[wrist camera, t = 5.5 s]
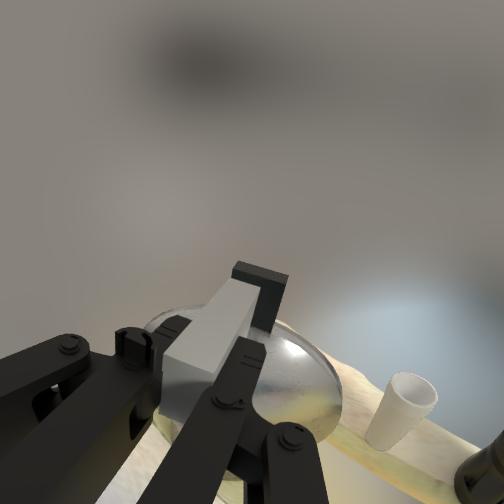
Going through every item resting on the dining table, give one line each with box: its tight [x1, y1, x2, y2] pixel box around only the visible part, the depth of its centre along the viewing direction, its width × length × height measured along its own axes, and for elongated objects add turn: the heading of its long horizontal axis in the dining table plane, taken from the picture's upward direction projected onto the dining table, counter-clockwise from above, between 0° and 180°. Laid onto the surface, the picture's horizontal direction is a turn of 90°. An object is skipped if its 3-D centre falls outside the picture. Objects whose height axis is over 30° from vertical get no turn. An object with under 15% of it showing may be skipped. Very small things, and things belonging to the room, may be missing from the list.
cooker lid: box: [144, 261, 343, 444], centre depth 22 cm, size 22×18×1 cm
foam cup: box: [365, 372, 438, 451], centre depth 40 cm, size 10×9×13 cm
